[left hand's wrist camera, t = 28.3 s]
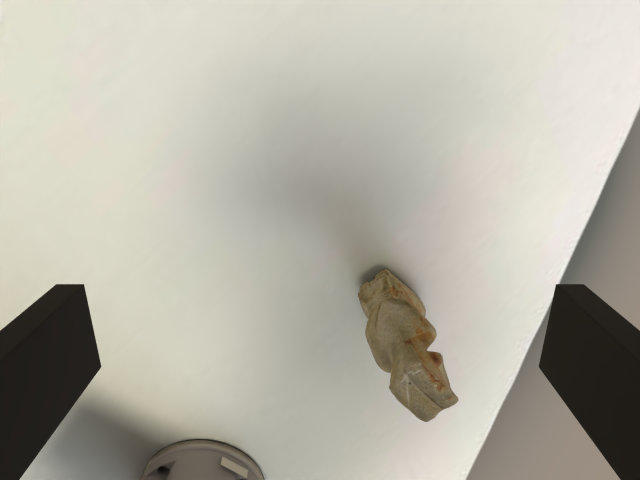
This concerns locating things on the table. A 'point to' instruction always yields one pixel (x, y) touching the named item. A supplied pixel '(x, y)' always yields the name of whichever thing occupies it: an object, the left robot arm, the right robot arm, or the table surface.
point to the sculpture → (405, 346)
